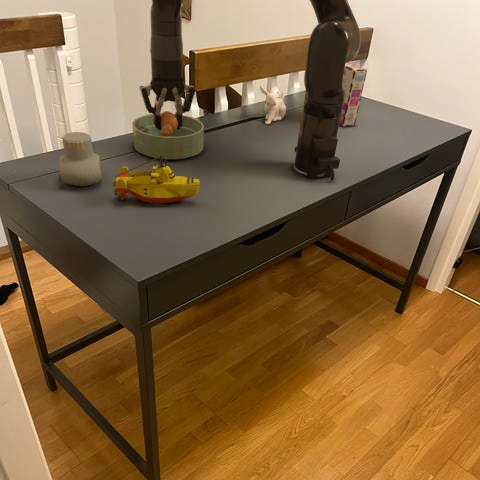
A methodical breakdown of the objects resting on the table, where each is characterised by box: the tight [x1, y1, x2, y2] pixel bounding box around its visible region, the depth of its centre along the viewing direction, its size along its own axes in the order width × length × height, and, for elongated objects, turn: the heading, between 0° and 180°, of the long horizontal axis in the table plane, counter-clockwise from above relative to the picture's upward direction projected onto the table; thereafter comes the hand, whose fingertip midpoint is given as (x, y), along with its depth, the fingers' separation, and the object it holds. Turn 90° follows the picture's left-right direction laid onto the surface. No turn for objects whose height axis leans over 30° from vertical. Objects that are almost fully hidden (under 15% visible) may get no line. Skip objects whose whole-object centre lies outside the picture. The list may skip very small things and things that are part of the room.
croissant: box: [153, 110, 178, 137], centre depth 121 cm, size 5×11×4 cm, turn 21°
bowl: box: [131, 112, 205, 160], centre depth 123 cm, size 18×18×6 cm
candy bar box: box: [339, 62, 368, 128], centre depth 148 cm, size 11×5×16 cm, turn 25°
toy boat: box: [112, 155, 201, 204], centre depth 99 cm, size 6×18×10 cm, turn 93°
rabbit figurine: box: [259, 83, 287, 125], centre depth 147 cm, size 12×8×10 cm, turn 138°
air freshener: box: [59, 131, 103, 187], centre depth 103 cm, size 11×8×10 cm
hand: (168, 128), depth 122 cm, fingers closed on croissant, 4 cm apart
